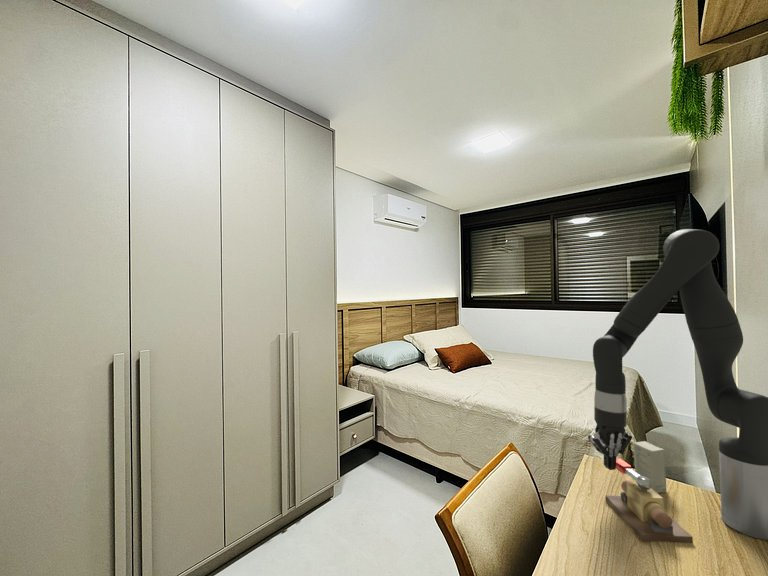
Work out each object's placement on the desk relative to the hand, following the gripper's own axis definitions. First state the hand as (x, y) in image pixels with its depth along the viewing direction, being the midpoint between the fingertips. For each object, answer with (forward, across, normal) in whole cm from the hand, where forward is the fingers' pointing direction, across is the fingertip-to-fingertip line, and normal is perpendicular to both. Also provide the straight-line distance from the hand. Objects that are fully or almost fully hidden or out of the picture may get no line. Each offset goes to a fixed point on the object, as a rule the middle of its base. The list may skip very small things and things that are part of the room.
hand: (610, 468), depth 93 cm
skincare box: (+9, +16, +2) cm, 19 cm away
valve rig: (+9, +2, -9) cm, 12 cm away
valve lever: (0, +2, -5) cm, 5 cm away
